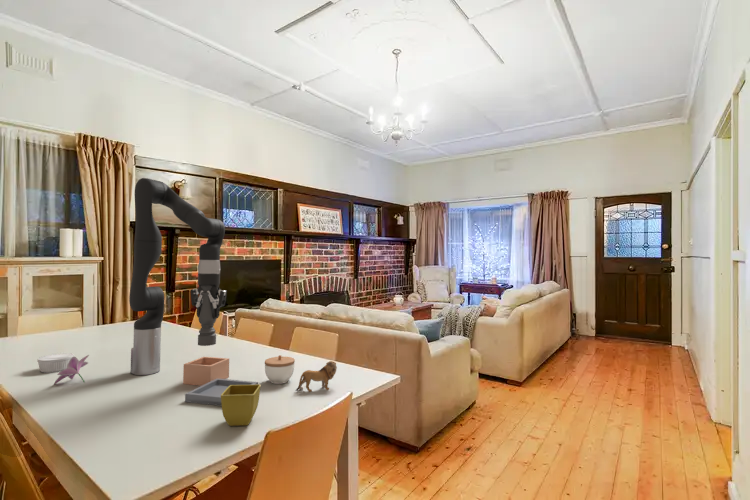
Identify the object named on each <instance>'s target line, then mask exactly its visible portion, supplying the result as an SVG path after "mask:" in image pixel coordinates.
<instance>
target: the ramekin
mask: <svg viewBox="0 0 750 500" xmlns="http://www.w3.org/2000/svg"><path fill="white" fill-rule="evenodd" d="M72 357H75V354H74V353H73V352H72V353H71V352H60V353H58V352H57V353H51V354H45V355H42V356H40V357H38V358H37V362H38V368H39V371H40V372H41V373H59V372H61V371H63V370H64V369H66V368H67V365H68V363H69V361H70V360H71V358H72Z"/></svg>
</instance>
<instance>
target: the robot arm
mask: <svg viewBox="0 0 750 500" xmlns="http://www.w3.org/2000/svg"><path fill="white" fill-rule="evenodd" d="M153 204H155V205H161V206H164V207H167V208H169V209H170V210H171V211H172V213H173V214H174V216H175V217H176V218H177V219H179V220H180V221H182V222H183V223H185V224H187V226H189V227H190V228H191V229H192V230H193V232H195V234H197V235H198V236H201V237H204V238H207V240H206V243H202V244H200V246H199V249H198V251H199V254H198V267H197V285H198V288H192V289H190V299H191V301H190V303H191V305H192V306H194V307H196V316H197V318H198V319H199V315H200V311H201V308H202V301H203V295H201V292H204V291H203V290H202V288H201V286H212V288H211V290H210V291H207V292H208V293H209V295H208V296H209V298H210V301H211V303H212V304H213V307H214V309H213V319H216V320H217V319H218V318H219V317H220V312H221V311H220V310H221V309H220V308H222V307H225V306H226V301H227V294H228V290H224V289H223V290H222V289H221V288H220V284H221V247H222V244H223V240H224V237H225V234H226V233H225V232H226V227H225V224H224V222H223V221H222V220H221V219H218V218H211V217H210V218H209V217H206V215H205V213H204V212H203V211H202V210H200V209H199V208H198V207H196V206H194V205H192V204H191V203H189V202H188V201H186V200H185V199H184V198H182V197H181V196H179V194H177V193H176V192H175V191H174V190H173V189H172V188H171V187H170V186H169V185H167V183H165V182H163V181H160V180H156V179H151V178H148V177H147V178H145V177H142V178H139V179H138V180H137V181H136V183H135V186H134V207H135V229H134V231H135V233H134V241H133V242H134V244H133V266H132V267H133V269H132V270H133V271H132V275H131V283H130V287H129V289H130V291H129V297H128V298H129V300H128V301H129V306H130V308H131V310H132V311H133V312H145V314H143V316H142V317H140V318H139V319H136V320H135V321H134V322H133V343H132V344H133V347H131V349H130V370H129V371H130V374H133V376H134V375H135V376H145V375H152V374H156V373H159V372H160V371H161V349H162V348H161V347H162V344H161V341H162V338H161V337H162V322H163V320H164V311H165V293H164V291H163V289H162V288H161V287H160V286H148V285H147V283H148V278H149V274H150V273H151V271H152V269H153V268H154V266H155V265H156V263H157V262H158V261H159V259H160V258H161V255H162V245H163V237H162V233H161V231H160V228H159V227H158V225H157V223H156V221H155V219H154V215H153Z"/></svg>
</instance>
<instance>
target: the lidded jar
mask: <svg viewBox="0 0 750 500" xmlns="http://www.w3.org/2000/svg"><path fill="white" fill-rule="evenodd" d="M295 360H296V359H295V358H294V357H291V356H282V355H278V356H273V357H269V358H267V359H265V360H264V371H265V375H266V377H267V379H268V380H269V381H270V383H271V384H275V385H280V384H286V383H287V382H289V380H290V379H291V378H292V377H293V374H294V370H295V362H296V361H295Z"/></svg>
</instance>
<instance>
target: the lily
mask: <svg viewBox="0 0 750 500" xmlns="http://www.w3.org/2000/svg"><path fill="white" fill-rule="evenodd" d="M89 356H90V354H87V355H86V356H84V357H82V358H81V359H80V360H79V359H78V358H77V356H74V357H72V358H71V360H70V361H69V363H68V365H67V368H66V369H64V370H63V371H59V372H57V375H58V378H56V380H55V381H54V383H53V386H54V385H57V383H59V382H60V381H63V379H65V378H69V379H70V380H73V379H74V378H75V376H76V375H78V376H79V377H80V379H81V380H82V382H83V383H85V380H84V378H83V377H82V375H81V374H80V370H81V368H83V367H85V366H86V365H88V364H89V362H88V361H86V360H87V358H88V357H89Z"/></svg>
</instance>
